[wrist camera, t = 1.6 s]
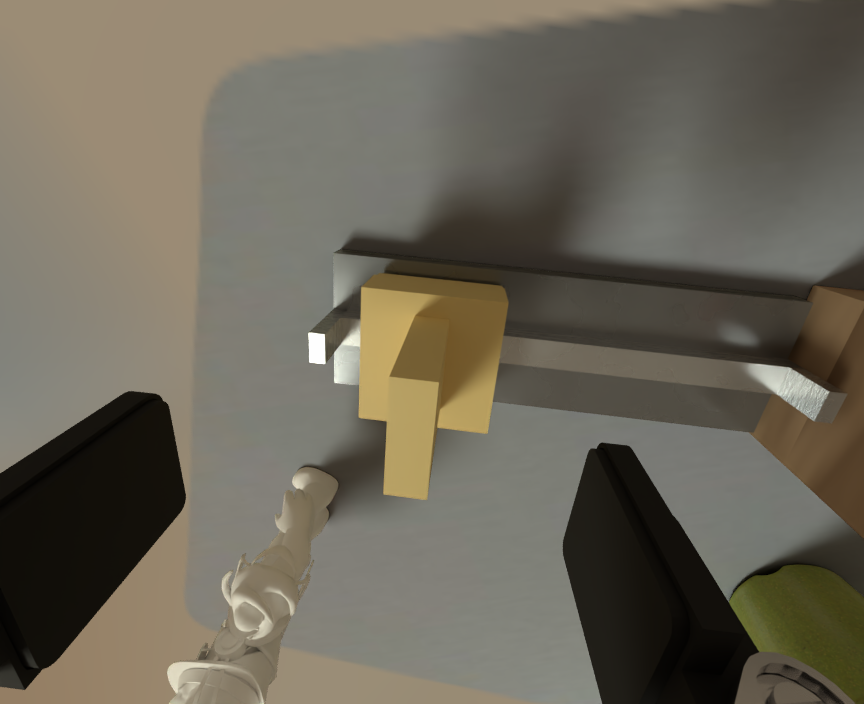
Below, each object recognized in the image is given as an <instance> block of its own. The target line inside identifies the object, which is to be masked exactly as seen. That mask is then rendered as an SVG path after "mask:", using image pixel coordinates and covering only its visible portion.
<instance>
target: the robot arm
mask: <svg viewBox="0 0 864 704" xmlns="http://www.w3.org/2000/svg"><path fill="white" fill-rule="evenodd" d="M185 500H186V494H185V488H184V483H183V478H182V472H181V467H180V462H179V457H178V452H177V446H176V441H175V436H174V430H173V425H172V420H171V415H170V409H169V406H168V404H167V403H166V402H164V401H163V400H162V398H161V397H160V396H159V395H157V394H153V393H144V392H134V391H128V392H126V393H124V394H122V395H121V396H119V397H118V398H116V399H114V400H113V401H111V402H110V403H108V404H107V405H105V406H104V407H102V408H101V409H99V410H97V411H96V412H94V413H93V414H91V415H90V416H88V417H87V418H85V419H84V420H82V421H80V422H79V423H77V424H76V425H74V426H73V427H71V428H70V429H68V430H67V431H65V432H64V433H62V434H60V435H59V436H57V437H56V438H55V439H53V440H51V441H50V442H48V443H47V444H45V445H43V446H42V447H40V448H39V449H38V450H36V451H35V452H33V453H31V454H30V455H28V456H26V457H25V458H23V459H22V460H20V461H19V462H17V463H16V464H14V465H13V466H11V467H9V468H8V469H6V470H5V471H4V472H2V473H0V687H7V688H15V689H22V690H25V689H26V688H27V687H28V686H29V684H30V683H31V682H32V681H33V680H34V678H35V677H36V676H37V675H38V674H39V673H40V672H41V670H42V669H44V668H47V667H49V666H51V665H52V664H53V663H54V662H56V661H57V659H58V658H59V657H60V656H61V655H62V654H63V653H64V651H65V650H66V649H67V648H68V647H69V645H70V644H71V643H72V642H73V641H74V639H75V638H76V637H77V636H78V634H79V633H80V632H81V631H82V630H83V629H84V627H85V626H86V625H87V624H88V623H89V621H90V620H91V619H92V618H93V617H94V615H95V614H96V613H97V611H99V609H100V608H101V607H102V606H103V605H104V603H105V602H106V601H107V600H108V599H109V597H110V596H111V595H112V594H113V592H114V591H115V590H116V589H117V588H118V587H119V585H120V584H121V583H122V581H124V579H125V578H126V577H127V576H128V575H129V573H130V572H131V571H132V570H133V569H134V567H135V566H136V565H137V564H138V562H139V561H140V560H141V559H142V558H143V557H144V555H145V554H146V553H147V552H148V551H149V549H150V548H151V547H152V546H153V545H154V543H155V542H156V541H157V540H158V539H159V537H160V536H161V535H162V534H163V533H164V531H165V530H166V529H167V528H168V527H169V525H170V524H171V523H172V522H173V521H174V519H175V518H176V517H177V516H178V514H179V513H180V512H181V511H182V509H183V507H184V504H185ZM563 556H564V560H565V564H566V568H567V571H568V575H569V579H570V583H571V587H572V590H573V594H574V598H575V602H576V606H577V609H578V613H579V617H580V621H581V625H582V628H583V632H584V636H585V640H586V643H587V647H588V651H589V655H590V659H591V662H592V666H593V670H594V674H595V678H596V681H597V685H598V689H599V693H600V696H601V700H602V704H855V702H854V701H853V700H851V699H850V698H849V697H848V696H847V695H846V694H845V693H844V692H843V691H842V690H841V689H840V688H839V687H838V686H837V685H836V684H834V683H833V682H832V681H830V680H829V679H828V678H826V677H825V676H823V675H822V674H821V673H819V672H818V671H816V670H815V669H814V668H812V667H810V666H808V665H806V664H804V663H802V662H800V661H798V660H797V659H795V658H792V657H789V656H786V655H783V654H779V653H776V652H759V651H758V649H757V647H756V646H755V644H754V643H753V641H752V639H751V638H750V636H749V634H748V633H747V631H746V630H745V628H744V626H743V625H742V623H741V622H740V620H739V618H738V617H737V615H736V614H735V612H734V610H733V609H732V607H731V605H730V604H729V602H728V601H727V599H726V597H725V596H724V594H723V593H722V591H721V589H720V588H719V586H718V585H717V583H716V581H715V580H714V578H713V576H712V575H711V573H710V572H709V570H708V568H707V567H706V565H705V564H704V562H703V560H702V559H701V557H700V556H699V554H698V552H697V551H696V549H695V547H694V546H693V544H692V543H691V541H690V539H689V538H688V536H687V535H686V533H685V531H684V530H683V528H682V527H681V525H680V523H679V522H678V521H677V520H676V518H675V517H674V516H673V515H672V513H671V512H670V510H669V508H668V507H667V505H666V504H665V502H664V500H663V499H662V497H661V495H660V494H659V492H658V491H657V489H656V487H655V486H654V484H653V482H652V481H651V479H650V478H649V476H648V474H647V473H646V471H645V469H644V468H643V466H642V465H641V463H640V461H639V460H638V458H637V456H636V455H635V453H634V452H633V450H632V449H631V448H630V446H627V445H618V444H609V443H600V444H599V445H598V447H597V449H590V450H589V452H588V455H587V458H586V462H585V465H584V469H583V473H582V476H581V480H580V483H579V487H578V490H577V494H576V497H575V501H574V504H573V508H572V511H571V515H570V518H569V522H568V525H567V529H566V533H565V536H564V540H563Z"/></svg>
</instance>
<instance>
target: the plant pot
mask: <svg viewBox="0 0 864 704" xmlns="http://www.w3.org/2000/svg"><path fill="white" fill-rule="evenodd" d="M729 604H730V605H731V607H732V609H733V610H734V612H735V614H736V615H737V617H738V618H739V620H740V622H741V623H742V625H743V626H744V628H745V630H746V631H747V633H748V634H749V636H750V638H751V639H752V641H753V643H754V644H755V646H756V647H757V649H758V651H759V652H776V653H779V654H783V655H786V656H789V657H792V658H795V659H797V660H798V661H800V662H802V663H804V664H806V665H808V666H810V667H812V668H814V669H815V670H816V671H818V672H819V673H821V674H822V675H823V676H825V677H826V678H828V679H829V680H830V681H832V682H833V683H834V684H836V685H837V686H838V687H839V688H840V689H841V690H842V691H843V692H844V693H845V694H846V695H847V696H848V697H849V698H850V699H851V700H853V701H854V702H855V704H864V597H863V596H862V595H861V594H859V593H858V592H857V591H856V590H855V589H854V588H853V587H851V586H850V585H849V584H848V583H847V582H846V581H845V580H843V579H842V578H841V577H840V576H838V575H837V574H835V573H834V572H832V571H830V570H827V569H824V568H821V567H817V566H811V565H786V566H783V567H782V568H781V569H780V570H779V571H777V572H775V573H773V574H770V575H763V576H762V575H755V576H753V577H751V578H749V579H748V580H746V581H745V582H744V583H743V584H742V585H740V586H739V587H738V588H737V590H736V591H735V592H734V593H733V595H732V597H731V599H730V601H729Z"/></svg>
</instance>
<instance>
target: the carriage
mask: <svg viewBox="0 0 864 704" xmlns="http://www.w3.org/2000/svg"><path fill="white" fill-rule="evenodd" d="M508 304H509V302H508V299H507V295H506V292H505V288H503V287H502V286H499V285H490V284H480V283H471V282H461V281H452V280H442V279H433V278H423V277H414V276H404V275H395V274H385V273H379V274H378V275H373V276H372V277H371V278H370V279H369V280H368V281H367V282H366V283H365V284H364V285H363V286H362V287H361V325H360V378H359V418H364V419H372V420H380V421H387V431H386V451H385V471H384V491H383V494H385V495H393V496H400V497H408V498H415V499H423V500H427V496H428V489H429V482H430V475H431V468H432V461H433V454H434V447H435V440H436V433H437V428H445V429H453V430H461V431H469V432H477V433H485V434H487V433H488V427H489V420H490V414H491V408H492V402H493V396H494V390H495V384H496V377H497V371H498V365H499V359H500V353H501V347H502V341H503V334H504V328H505V322H506V316H507V310H508Z"/></svg>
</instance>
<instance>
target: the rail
mask: <svg viewBox="0 0 864 704" xmlns="http://www.w3.org/2000/svg"><path fill="white" fill-rule="evenodd" d="M379 273H385V274H395V275H404V276H414V277H423V278H433V279H442V280H452V281H461V282H471V283H480V284H490V285H499V286H502V287H503V288H505V292H506V295H507V299H508V302H509V304H508V310H507V316H506V322H505V328H504V334H503V341H502V347H501V353H500V359H499V365H498V371H497V377H496V384H495V390H494V396H493V402H501V403H509V404H517V405H526V406H534V407H542V408H551V409H559V410H568V411H576V412H584V413H593V414H601V415H609V416H618V417H626V418H634V419H643V420H651V421H659V422H668V423H676V424H685V425H693V426H701V427H710V428H718V429H726V430H735V431H743V432H751V433H754V431H755V429H756V427H757V425H758V422H759V420H760V418H761V416H762V414H763V412H764V409H765V407H766V405H767V403H768V401H769V399H770V396H771V394H776V395H778V396H780V397H781V398H782V399H784V400H785V401H786V402H788V403H789V404H791V405H792V406H793V407H795V408H796V409H798V410H799V411H800V412H802V413H803V414H805V415H806V416H807V417H809V418H810V419H812V420H813V421H815V422H823V423H832V422H833V420H834V418H835V417H836V415H837V413H838V411H839V409H840V407H841V406H842V404H843V402H844V400H845V398H846V396H847V393H845V392H844V391H842V390H840V389H838V388H837V387H835V386H833V385H832V384H830V383H828V382H826V381H825V380H823V379H821V378H819V377H818V376H816V375H814V374H813V373H811V372H809V371H807V370H806V369H804V368H802V367H801V366H799V365H797V364H795V363H794V362H792V361H790V360H788V357H789V355H790V353H791V351H792V349H793V346H794V344H795V342H796V340H797V338H798V335H799V333H800V331H801V329H802V327H803V325H804V322H805V320H806V318H807V316H808V314H809V312H810V309H811V307H812V305H813V302H810V301H807V300H805V299H802V298H799V297H797V296H790V295H780V294H771V293H761V292H751V291H742V290H732V289H722V288H713V287H703V286H693V285H683V284H674V283H664V282H654V281H645V280H635V279H625V278H615V277H606V276H596V275H586V274H577V273H567V272H557V271H548V270H538V269H528V268H518V267H509V266H499V265H489V264H480V263H470V262H460V261H451V260H441V259H431V258H421V257H412V256H402V255H392V254H383V253H373V252H363V251H354V250H344V249H340V250H338V251H336V252H334V253H333V275H334V309H333V310H332V311H331V312H330V313H329V314H328V315H327V316H326V317H325V318H324V319H322V320H321V321H320V322H319V323H318V324H317V325H316V326H315V327H314V328H313V329H312V330H311V331H310V332H309V357H310V362H313V363H321V364H326V362H327V361H328V360H329V359H330V357H331V356H332V355H333V353H334V383H342V384H350V385H359V378H360V325H361V287H362V286H363V285H364V284H365V283H366V282H367V281H368V280H369V279H370V278H371V277H372V276H373V275H378V274H379Z"/></svg>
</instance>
